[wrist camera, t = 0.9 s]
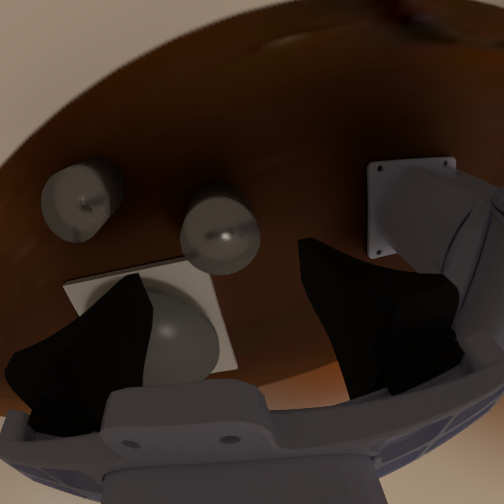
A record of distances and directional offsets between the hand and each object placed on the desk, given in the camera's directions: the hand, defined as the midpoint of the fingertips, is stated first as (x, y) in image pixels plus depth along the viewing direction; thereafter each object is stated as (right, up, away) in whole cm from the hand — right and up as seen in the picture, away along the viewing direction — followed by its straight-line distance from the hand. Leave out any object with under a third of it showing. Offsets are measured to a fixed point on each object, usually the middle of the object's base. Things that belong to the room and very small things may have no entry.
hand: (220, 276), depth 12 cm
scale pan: (-8, -6, +10) cm, 14 cm away
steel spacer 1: (-9, +6, +5) cm, 12 cm away
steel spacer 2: (-1, +4, +7) cm, 8 cm away
